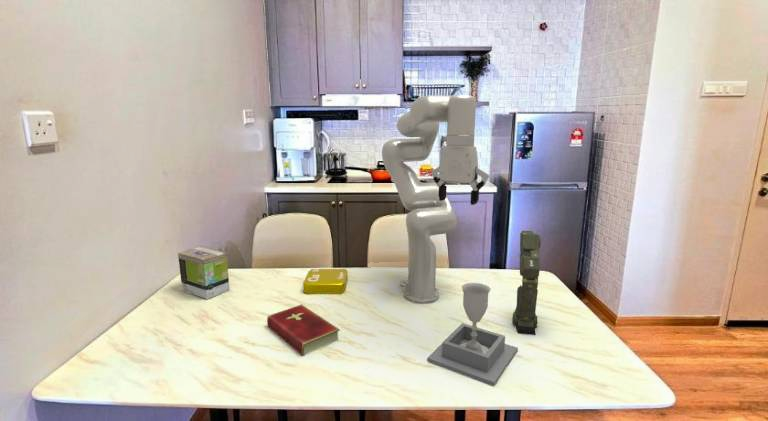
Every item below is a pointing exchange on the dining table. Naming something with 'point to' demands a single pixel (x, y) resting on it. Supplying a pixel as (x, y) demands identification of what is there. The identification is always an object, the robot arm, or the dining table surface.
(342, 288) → the element tile
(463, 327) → the housing
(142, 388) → the dining table surface
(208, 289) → the tea box
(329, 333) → the hardcover book
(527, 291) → the mechanical leg
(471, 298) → the chalice
